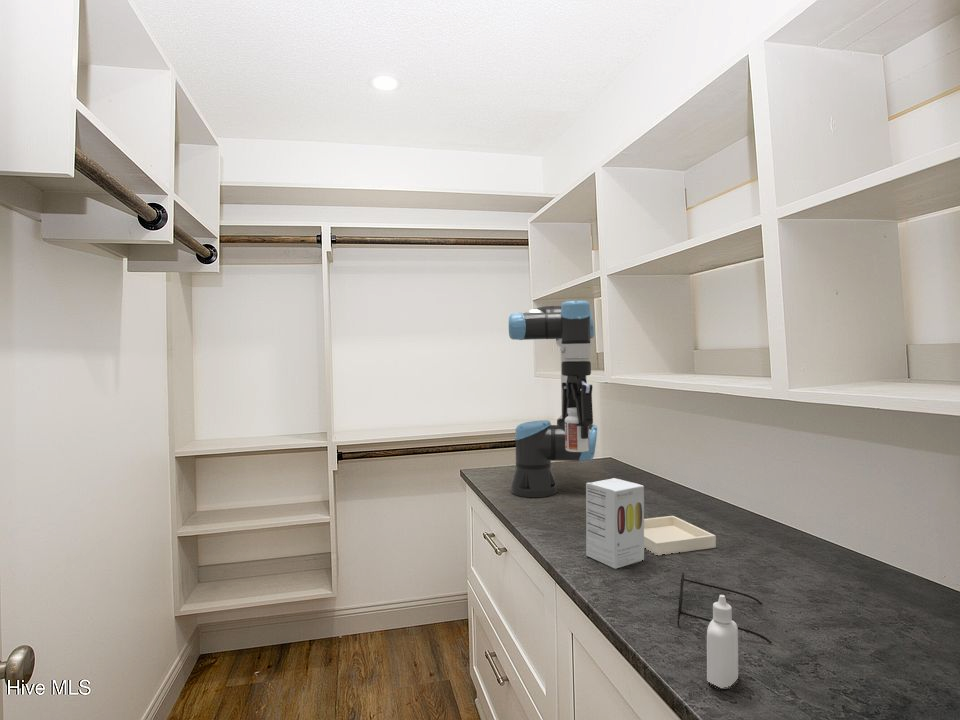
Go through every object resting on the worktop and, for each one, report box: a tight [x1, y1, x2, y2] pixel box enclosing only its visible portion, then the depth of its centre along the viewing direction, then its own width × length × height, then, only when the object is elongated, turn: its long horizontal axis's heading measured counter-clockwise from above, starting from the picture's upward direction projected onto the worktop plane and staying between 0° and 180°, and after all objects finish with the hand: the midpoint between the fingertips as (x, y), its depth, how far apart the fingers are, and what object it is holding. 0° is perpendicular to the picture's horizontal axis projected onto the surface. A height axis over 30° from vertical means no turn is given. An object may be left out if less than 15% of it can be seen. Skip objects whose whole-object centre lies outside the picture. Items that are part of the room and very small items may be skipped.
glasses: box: [677, 572, 773, 644], centre depth 93 cm, size 14×15×5 cm
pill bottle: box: [565, 407, 589, 452], centre depth 138 cm, size 6×6×11 cm
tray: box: [644, 515, 717, 556], centre depth 130 cm, size 16×16×3 cm
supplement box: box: [585, 477, 645, 570], centre depth 119 cm, size 10×9×17 cm
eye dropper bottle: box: [706, 594, 739, 688], centre depth 75 cm, size 4×6×12 cm
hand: (577, 448), depth 139 cm, fingers closed on pill bottle, 6 cm apart
